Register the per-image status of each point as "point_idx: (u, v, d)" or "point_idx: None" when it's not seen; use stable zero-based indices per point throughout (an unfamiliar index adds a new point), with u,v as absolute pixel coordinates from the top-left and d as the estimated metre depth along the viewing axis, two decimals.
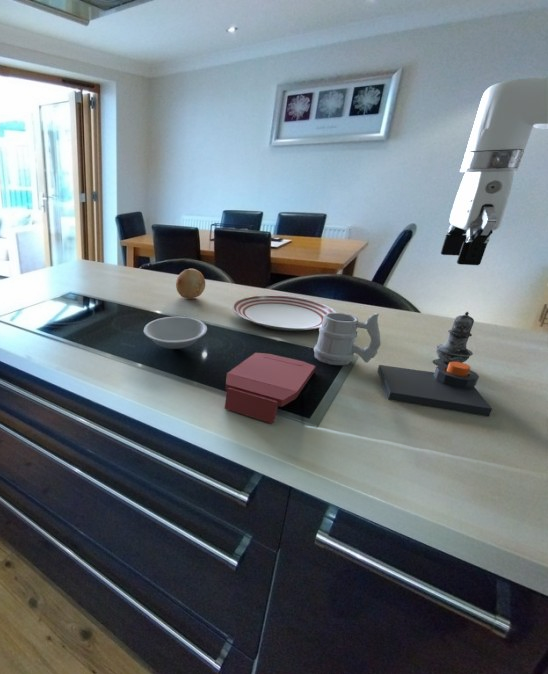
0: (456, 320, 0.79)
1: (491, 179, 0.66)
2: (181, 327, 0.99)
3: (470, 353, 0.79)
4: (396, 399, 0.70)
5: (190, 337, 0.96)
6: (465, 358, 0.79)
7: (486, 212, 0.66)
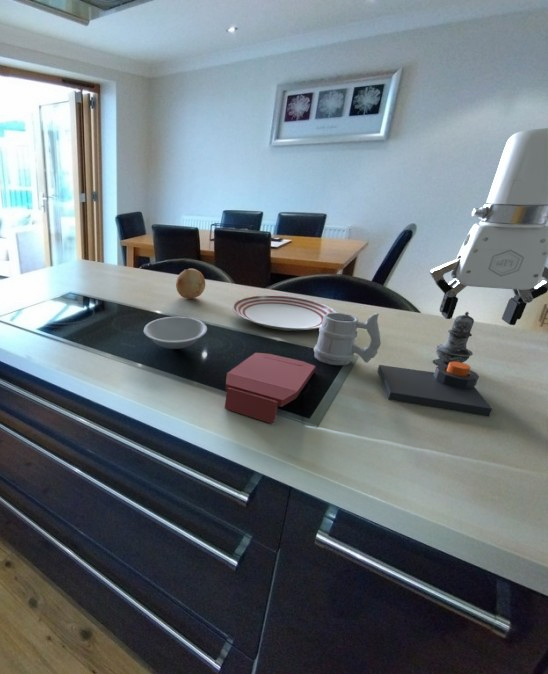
0: (456, 320, 0.79)
1: (470, 231, 0.65)
2: (181, 327, 0.99)
3: (470, 353, 0.79)
4: (396, 399, 0.70)
5: (190, 337, 0.96)
6: (465, 358, 0.79)
7: None
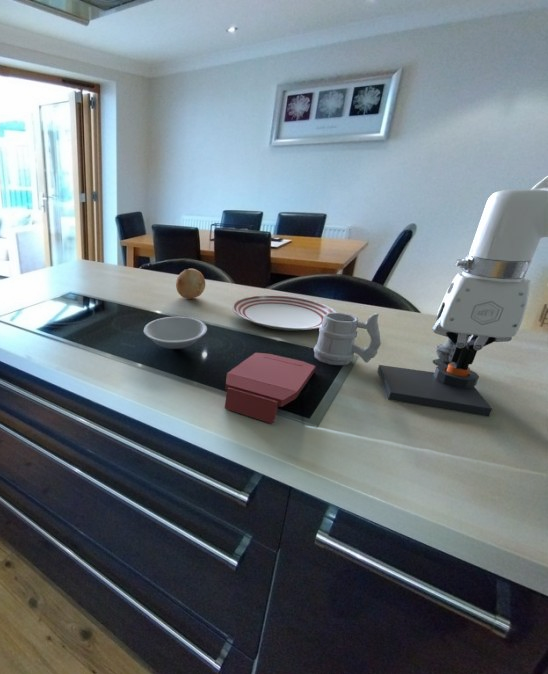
0: None
1: (453, 280, 0.68)
2: (181, 327, 0.99)
3: None
4: (396, 399, 0.70)
5: (190, 337, 0.96)
6: None
7: (438, 320, 0.71)
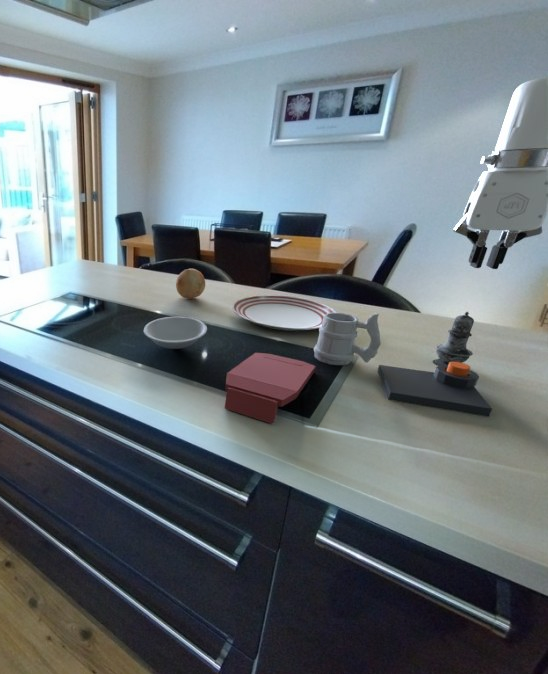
0: (456, 320, 0.79)
1: (479, 179, 0.71)
2: (181, 327, 0.99)
3: (470, 353, 0.79)
4: (396, 399, 0.70)
5: (190, 337, 0.96)
6: (465, 358, 0.79)
7: (461, 219, 0.74)
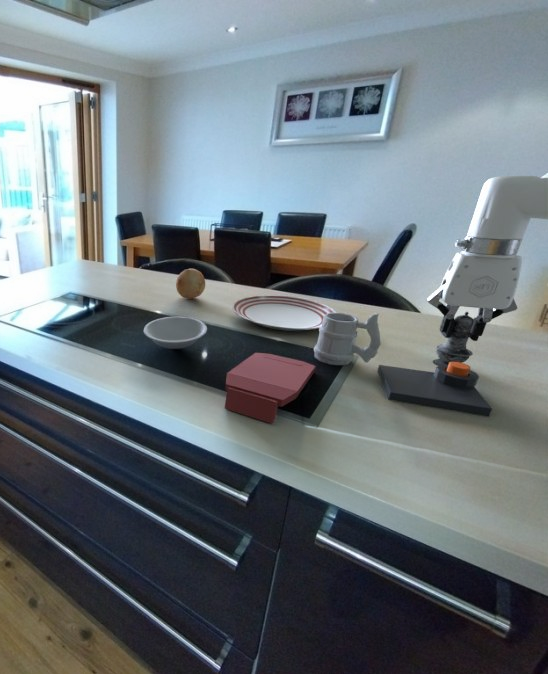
0: (456, 320, 0.79)
1: (453, 259, 0.76)
2: (181, 327, 0.99)
3: (470, 353, 0.79)
4: (396, 399, 0.70)
5: (190, 337, 0.96)
6: (465, 358, 0.79)
7: (435, 292, 0.79)
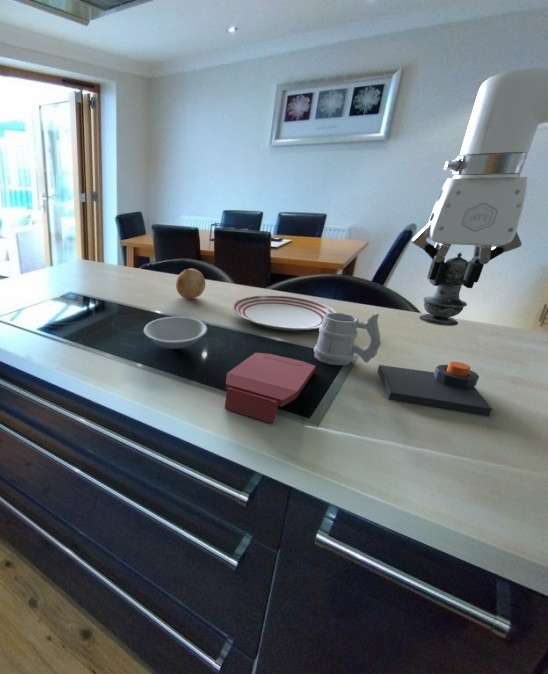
0: (447, 264, 0.65)
1: (443, 186, 0.62)
2: (181, 327, 0.99)
3: (464, 304, 0.65)
4: (396, 399, 0.70)
5: (190, 337, 0.96)
6: (458, 310, 0.65)
7: (421, 230, 0.65)
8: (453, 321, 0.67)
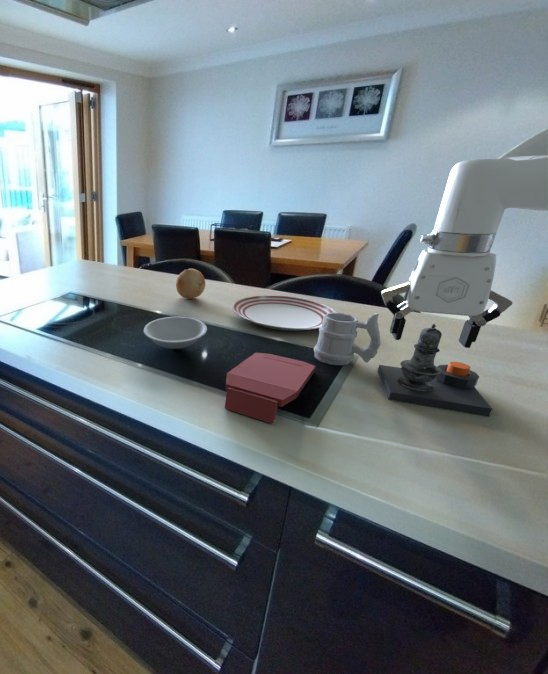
0: (422, 333, 0.69)
1: (419, 257, 0.66)
2: (181, 327, 0.99)
3: (438, 371, 0.69)
4: (396, 399, 0.70)
5: (190, 337, 0.96)
6: (432, 377, 0.69)
7: None
8: (428, 386, 0.70)
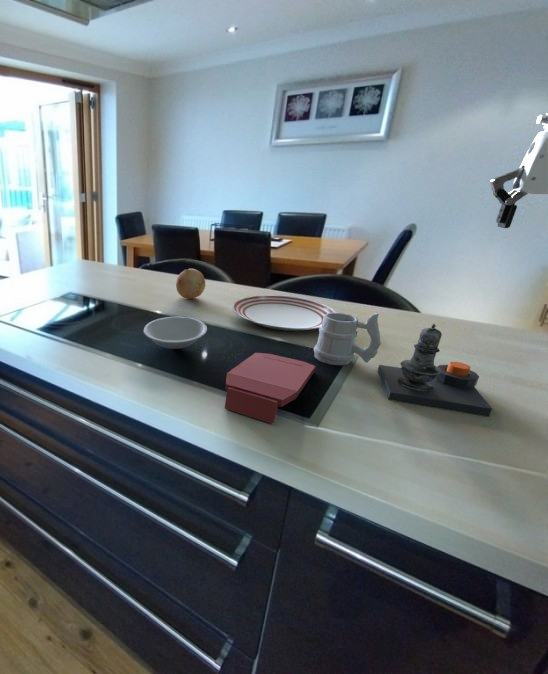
0: (422, 333, 0.69)
1: (534, 140, 0.67)
2: (181, 327, 0.99)
3: (438, 371, 0.69)
4: (396, 399, 0.70)
5: (190, 337, 0.96)
6: (432, 377, 0.69)
7: None
8: (428, 386, 0.70)
